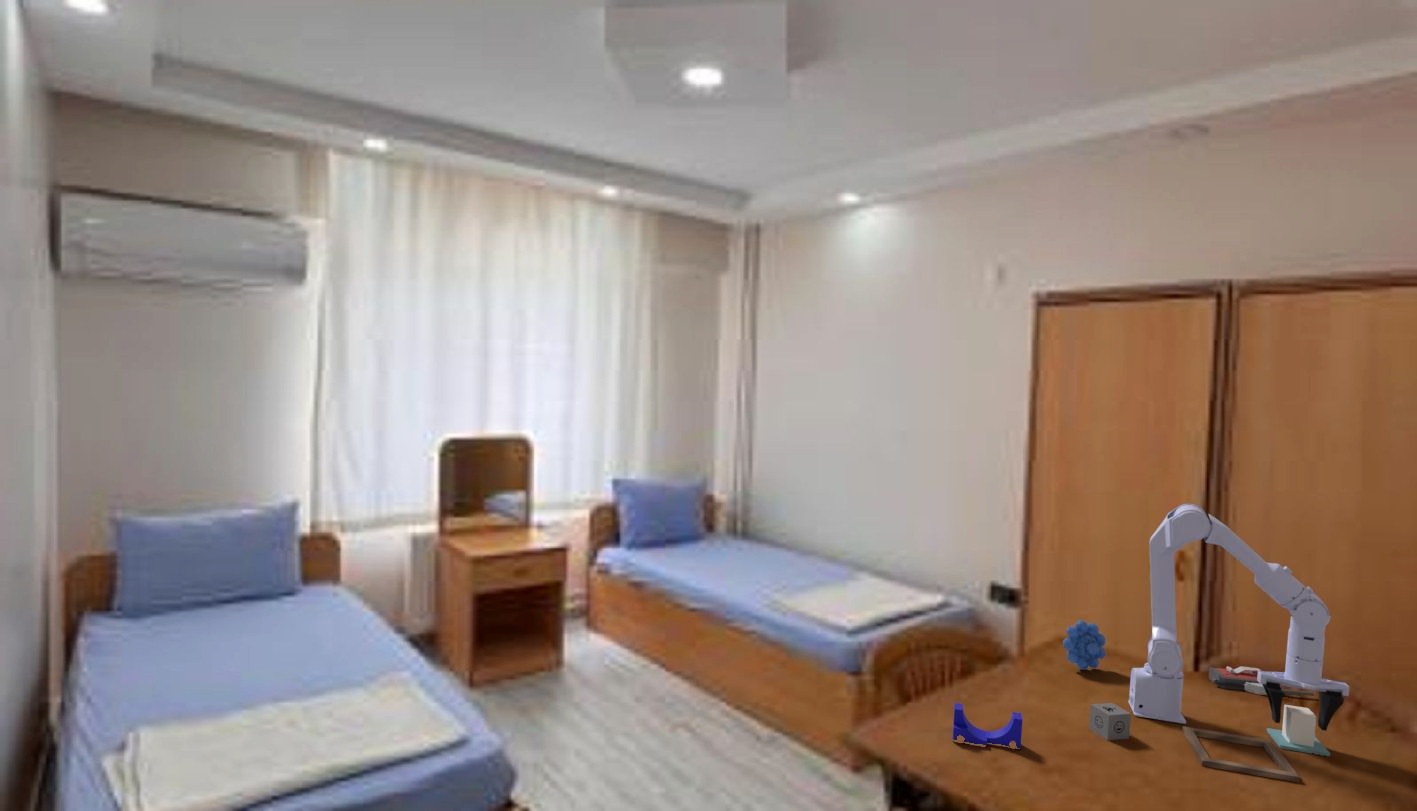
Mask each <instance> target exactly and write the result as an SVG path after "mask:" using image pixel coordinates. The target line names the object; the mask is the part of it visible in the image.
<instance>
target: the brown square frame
mask: <svg viewBox="0 0 1417 811" xmlns="http://www.w3.org/2000/svg"><path fill="white" fill-rule="evenodd" d="M1182 733H1183V735H1184V736H1185V737H1184V738H1186V741H1188V743H1189V746H1190V747H1191V749H1192V751H1193V753H1194V754H1195V756H1196V758H1197V759H1198V762H1199V763H1200V765H1201V766H1202V767H1208V768H1213V769H1218V770H1224V771H1230V772H1236V773H1243V774H1246V775H1247V774H1248V775H1253V776H1260V777H1265V778H1270V779H1276V780H1282V781H1286V782H1293V783H1298V784H1299V783H1300V780H1301V778H1300V776H1299V774H1298V773H1297V772H1296V770H1295V769H1294V768H1293V767H1292V766H1291V764H1290V763H1289V761H1288V760H1287V759H1286V758H1285V757H1284V755H1283V754H1282V753H1281V752H1280V750H1279V748H1277V746H1276V745H1275V744H1274V743H1273V741H1272V740H1270V739H1264V738H1263V739H1262V738H1257V737H1252V736H1251V737H1250V736H1246V735H1239V734H1232V733H1227V732H1220V731H1216V730H1215V731H1214V730H1208V729H1202V728H1196V727H1189V726H1182ZM1198 737H1199V738H1205V739H1211V740H1216V741H1223V742H1230V743H1234V744H1239V745H1246V746H1247V745H1248V746H1253V747H1258V748H1259V747H1260V748H1264V750H1265V751H1266V753H1267V754H1268V755H1269V756H1270V758H1271V759H1272V760H1273V761H1274V763H1275V764H1276V766H1277V767H1278V768H1279V769H1274V768H1268V767H1264V766H1259V765H1258V766H1257V765H1252V764H1245V763H1239V762H1234V761H1230V760H1229V761H1228V760H1223V759H1218V758H1217V759H1216V758H1212V757H1209V755H1208V753H1207V751H1206V750H1205V748H1204V746H1203V745H1202V743H1201V742H1200V739H1199V738H1198Z"/></svg>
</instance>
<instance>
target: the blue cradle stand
mask: <svg viewBox="0 0 1417 811" xmlns="http://www.w3.org/2000/svg"><path fill="white" fill-rule="evenodd" d="M953 709H954V710H953V720H952V721H953V724H952V740H953V739H954V740H957V736H959V735H961V736H963V737H964V738H965V740H964V742H969V743H974V744H983V745H987V743H992V744H1001V745H1005V746H1009V743H1010V742H1014V741H1015V743H1016V746H1017V748H1020V749H1021V748H1022V732H1023V715H1022V712H1016V711H1012V713H1011V718H1010V720H1009V721H1008V723H1007V724H1006V725H1005V726H1004V727H1002V728H1000V729H997V730H992V731H989V730H982V729H980V728H978V727H976V726H975V725H973V724H972V723H971V722H970V721H969V719H968V718H967V716H966V714H965V711H964V704H963V703H957V702H954V708H953ZM987 746H988V745H987ZM1009 747H1010V746H1009Z"/></svg>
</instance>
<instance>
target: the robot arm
mask: <svg viewBox="0 0 1417 811" xmlns="http://www.w3.org/2000/svg"><path fill="white" fill-rule="evenodd" d="M1208 517H1209V518H1208ZM1203 539H1204V543H1206V544H1211V545H1217V546H1219V547H1220V546H1221V548H1223V549H1224V550H1226V552H1228V553H1229V554H1231V555H1232V556H1233V557H1234V558H1235V559H1236V560H1237V561H1238V562H1240V563H1241V564H1242V565H1243V566H1244V567H1246V568H1247V569H1249V571H1251V572H1252V573H1253V574H1254V577H1253V578H1254V584H1255V585H1257V587H1258V588H1260V589H1261V590H1262V591H1263V592H1264V593H1265V594H1267V596H1269V597H1270V598H1271V599H1272V600H1273V601H1275V602H1276V603H1277V604H1278V605H1279V606H1280V607H1281V608H1283V609H1287V610H1288V612H1289V614H1290V615H1291V616H1290V622H1289V628H1288V632H1287V645H1286V656H1285V657H1286V658H1285V668H1284V671H1283V672H1281V671H1263V670H1261V671H1258V675H1257V680H1258V682H1259V683H1260V684H1262V685H1263V687H1264V689H1265V692H1266V694H1267V695H1266V696H1267V700H1268V703H1269V706H1270V711H1271V712H1270V713H1271V719H1272V721H1273V722H1275V723H1274V724H1280V723H1281V717H1282V715H1281V713H1282V705H1283V704H1282V703H1283V700H1284V696H1285V694H1284V693H1283V692H1282V690H1281V689H1282V687H1281V686H1283V687H1290V688H1296V689H1303V690H1309V691H1310V690H1311V691H1316V692H1318V696H1319V710H1318V718H1317V725H1318V728H1319V729H1321V731H1327V730H1328V728H1329V727H1328V726H1329V724H1330V722H1331V720H1332V718H1333V717H1334V715H1335V713H1336V712H1337V711H1338V709H1339V708H1340V707H1341V706H1342V705H1343V704H1344V702H1345V698H1344V697H1350V696H1349V695H1350V685H1348V684H1347V683H1346V682H1342V681H1341V682H1340V681H1335V680H1330V679H1327V678H1322V676H1323V675H1322V674H1323V664H1324V654H1325V642H1326V636H1325V632H1326V626H1327V625H1328V624H1329V623H1330V621H1331V618H1332V617H1331V615H1330V611H1329V608H1328V607H1327V605H1326V604H1325V603H1324V601H1323V600H1322V599H1321V598H1320V597H1319V596H1318V595H1317V593H1315V592H1314V590H1313V589H1312V587H1310V586H1305V585H1304V584H1303V583H1302V582H1300V580H1298V579H1297V578H1296V577H1295V576H1294V575H1292V573H1293V571H1292V570H1291V569H1290V568H1289V567H1288V566H1287V565H1285V566H1284V567H1283V566H1282V565H1281V564H1280V563H1274V562H1273V563H1271V562H1268V561H1267V562H1266V561H1265V560H1264V559H1263V558H1262V557H1261V556H1260V555H1259V554H1258V553H1256V551H1255V550H1254V549H1252V547H1251V546H1249V545H1248V544H1247V543H1246V542H1245V541H1243V539H1242V538H1240V536H1238V535H1237V534H1236V533H1235V532H1233V531H1232V530H1231V528H1229V527H1228V526H1227V525H1226V524H1224V523H1223V522H1221V521H1220V520H1219V519H1217V518H1216V517H1215V516H1213V515H1211V514H1210V513H1208V516H1207V513H1206V512H1205V510H1204V509H1203V508H1202V507H1201V506H1199V505H1197V504H1194V503H1184V504H1181V505H1178V506H1177V507H1176V508H1174V509H1173V510H1171V511H1169V512H1168V513H1167V515H1166V516H1165V518H1164V519H1163V521H1162V522H1161V523H1160V525H1159V526H1158V527H1157V528H1156V530H1155V531H1154V533H1153V534H1151V537H1150V538H1149V566H1150V567H1149V568H1150V570H1149V574H1150V575H1149V577H1150V601H1151V605H1150V608H1151V631H1152V632H1151V638H1150V639H1149V641H1148V644H1147V651H1148V654H1147V662H1145V663H1144V664H1143V665H1144V666H1143V667H1132V669H1131V672H1130V683H1129V694H1128V696H1129V697H1128V701H1127V702H1128V704H1129V706H1130V708H1131V712H1133V715H1134V716H1135V717H1140V718H1146V719H1147V718H1148V719H1153V720H1158V721H1165V722H1170V723H1177V724H1184V725H1186V724H1187V720H1186V718H1185V717H1184V715H1183V714H1182V701H1183V700H1182V699H1183V687H1184V671H1183V667H1184V660H1183V657H1182V654H1183V652H1182V649H1183V648H1182V646H1181V644H1180V642H1179V641H1178V639H1177V638H1178V634H1177V613H1176V612H1177V611H1176V610H1177V605H1176V578H1175V577H1176V576H1175V572H1176V571H1175V553H1176V552H1177V551H1179V550H1180V549H1182V548H1183V547H1184V546H1186V545H1187V544H1190V543H1193V542H1197V541H1200V540H1203ZM1343 696H1344V697H1343Z"/></svg>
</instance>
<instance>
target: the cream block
mask: <svg viewBox="0 0 1417 811" xmlns="http://www.w3.org/2000/svg"><path fill="white" fill-rule="evenodd" d="M1316 724H1317V715H1316V714H1315V713H1314V712H1313V711H1311V709H1309V708H1308V707H1303V706H1296V705H1289V704H1284V705H1283V717H1282V728H1281V730H1282V735H1283V736H1284V737H1285V738H1286V740H1287V741H1288V742H1289V743H1293V744H1299V745H1305V746H1311V747H1314V737H1316V736H1315V735H1316V726H1317V725H1316Z"/></svg>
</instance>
